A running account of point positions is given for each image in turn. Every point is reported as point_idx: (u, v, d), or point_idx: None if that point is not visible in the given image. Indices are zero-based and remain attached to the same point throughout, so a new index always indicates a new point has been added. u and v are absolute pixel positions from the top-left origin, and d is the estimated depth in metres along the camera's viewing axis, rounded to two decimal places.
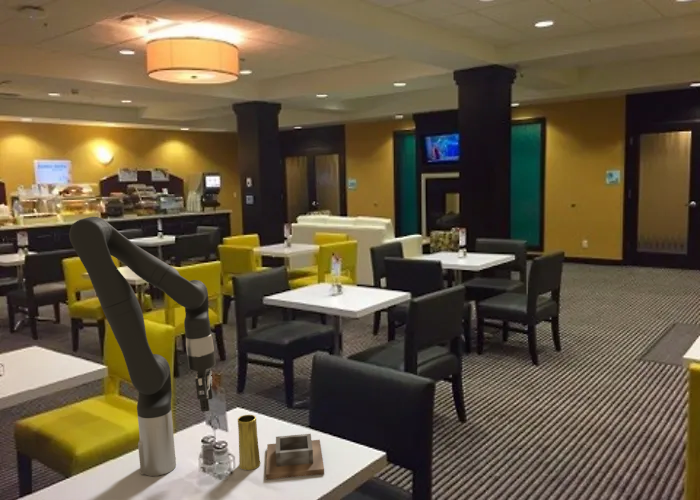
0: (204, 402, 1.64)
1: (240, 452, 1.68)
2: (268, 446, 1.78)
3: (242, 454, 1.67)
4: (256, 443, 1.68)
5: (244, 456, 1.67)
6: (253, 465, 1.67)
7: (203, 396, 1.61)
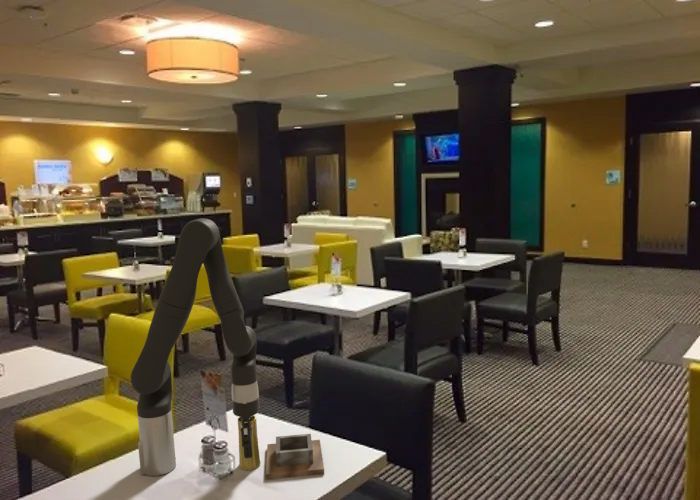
0: (248, 449, 1.65)
1: (240, 452, 1.68)
2: (268, 446, 1.78)
3: (242, 454, 1.67)
4: (256, 443, 1.68)
5: None
6: (253, 465, 1.67)
7: (248, 444, 1.63)
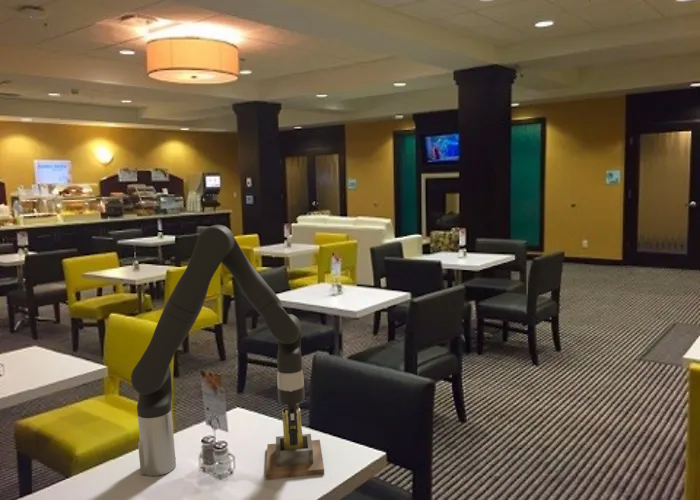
0: (294, 436, 1.65)
1: (285, 443, 1.69)
2: (268, 446, 1.78)
3: (287, 445, 1.68)
4: (301, 434, 1.69)
5: (289, 447, 1.68)
6: None
7: (294, 431, 1.63)
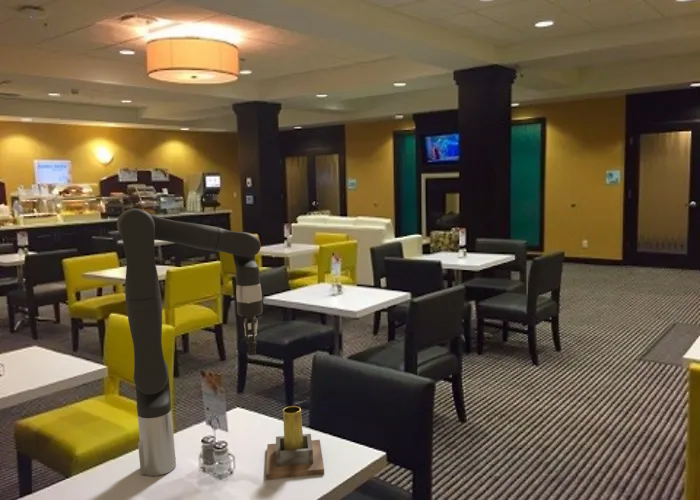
0: (251, 346, 1.73)
1: (285, 443, 1.69)
2: (268, 446, 1.78)
3: (288, 445, 1.68)
4: (301, 434, 1.69)
5: (290, 447, 1.68)
6: None
7: (251, 340, 1.71)
